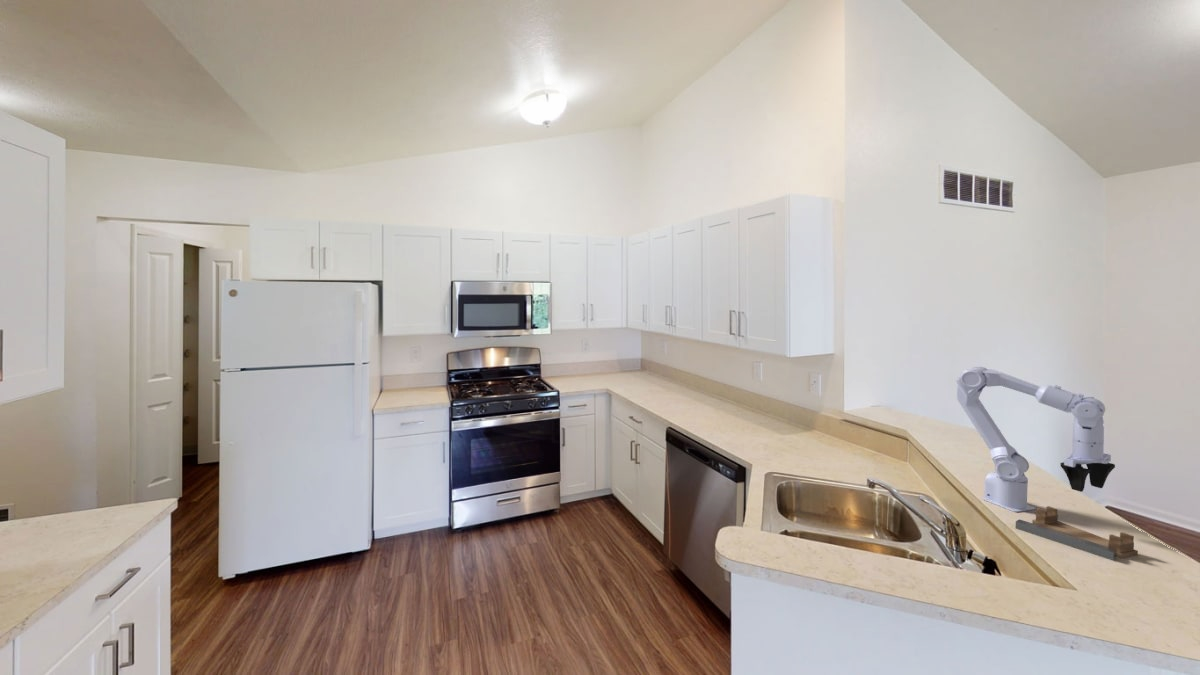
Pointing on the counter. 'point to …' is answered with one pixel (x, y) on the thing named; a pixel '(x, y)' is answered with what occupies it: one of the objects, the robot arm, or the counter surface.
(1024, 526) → the graphite rail
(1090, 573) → the counter surface
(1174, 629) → the counter surface
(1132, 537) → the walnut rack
